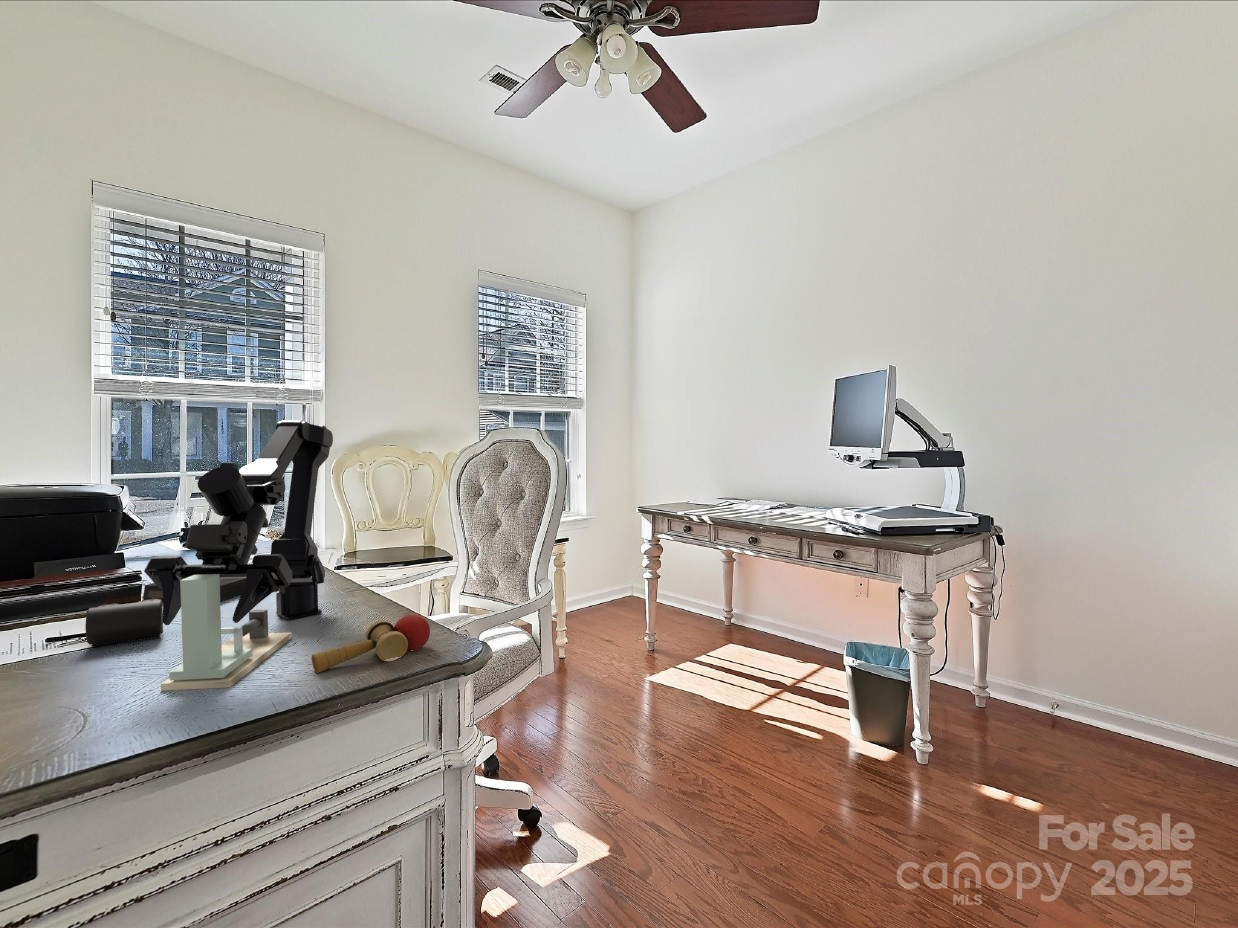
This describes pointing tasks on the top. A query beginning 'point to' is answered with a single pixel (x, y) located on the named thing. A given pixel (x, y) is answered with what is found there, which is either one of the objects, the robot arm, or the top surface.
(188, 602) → the tall sage green column
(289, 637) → the board
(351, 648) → the kendama
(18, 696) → the top surface
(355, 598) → the top surface
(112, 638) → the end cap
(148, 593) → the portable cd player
